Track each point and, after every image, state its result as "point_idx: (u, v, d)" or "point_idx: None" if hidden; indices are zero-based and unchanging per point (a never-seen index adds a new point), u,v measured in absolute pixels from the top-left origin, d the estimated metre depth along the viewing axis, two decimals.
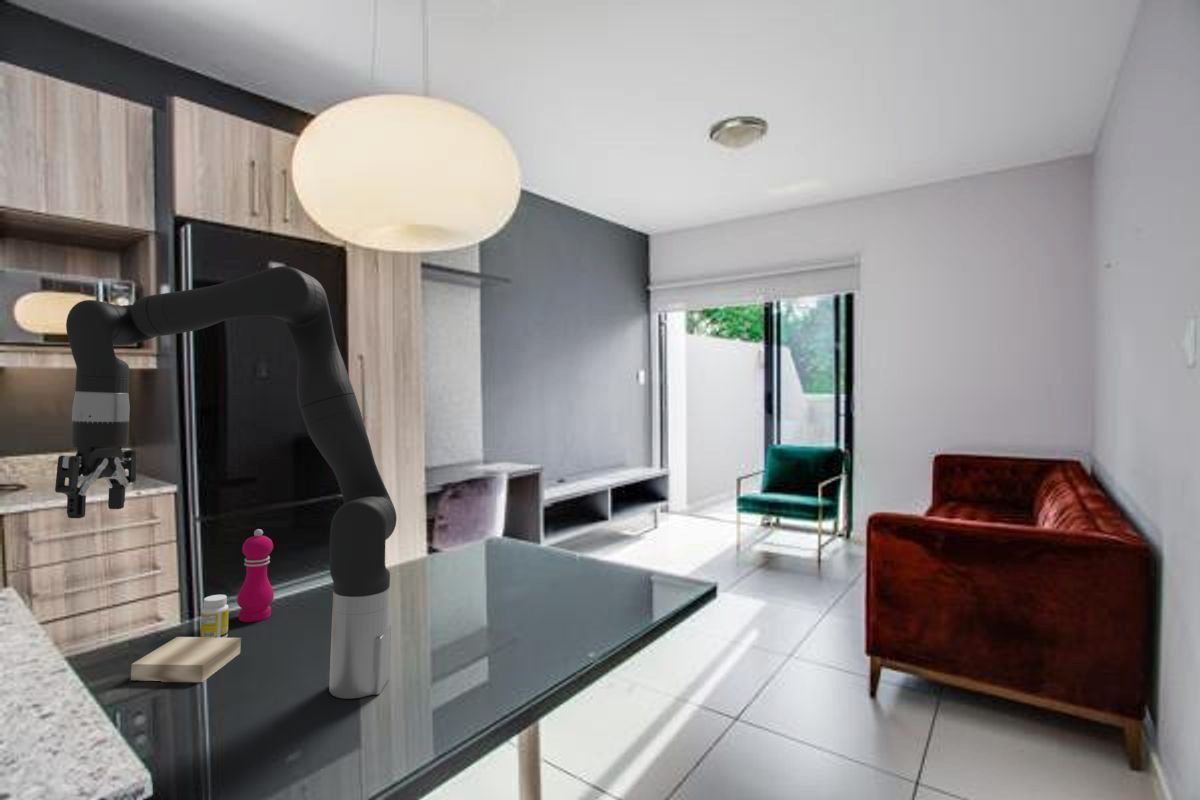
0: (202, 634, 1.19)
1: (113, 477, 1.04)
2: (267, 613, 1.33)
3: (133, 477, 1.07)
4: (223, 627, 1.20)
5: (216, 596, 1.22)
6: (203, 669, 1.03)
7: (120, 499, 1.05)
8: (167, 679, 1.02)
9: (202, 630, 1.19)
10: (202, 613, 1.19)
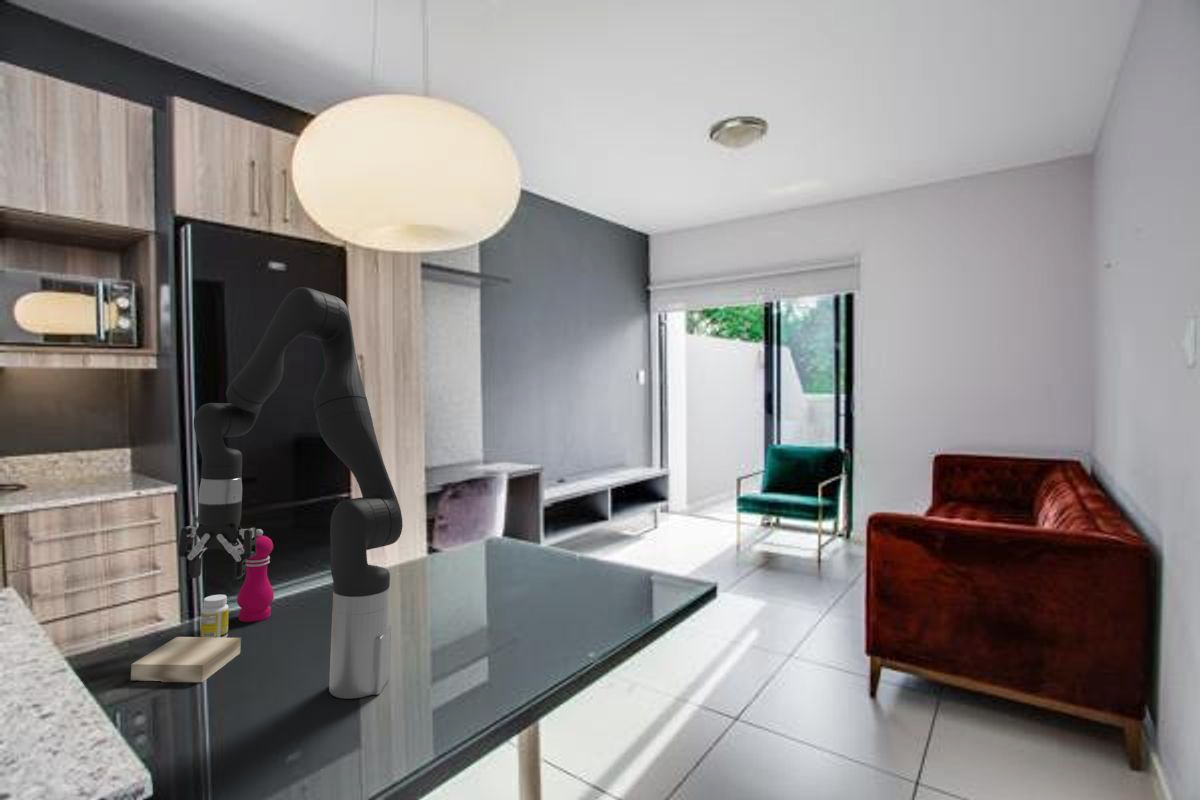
0: (202, 634, 1.19)
1: (204, 549, 1.21)
2: (267, 613, 1.33)
3: None
4: (223, 627, 1.20)
5: (216, 596, 1.22)
6: (203, 669, 1.03)
7: (200, 567, 1.22)
8: (167, 679, 1.02)
9: (202, 630, 1.19)
10: (202, 613, 1.19)
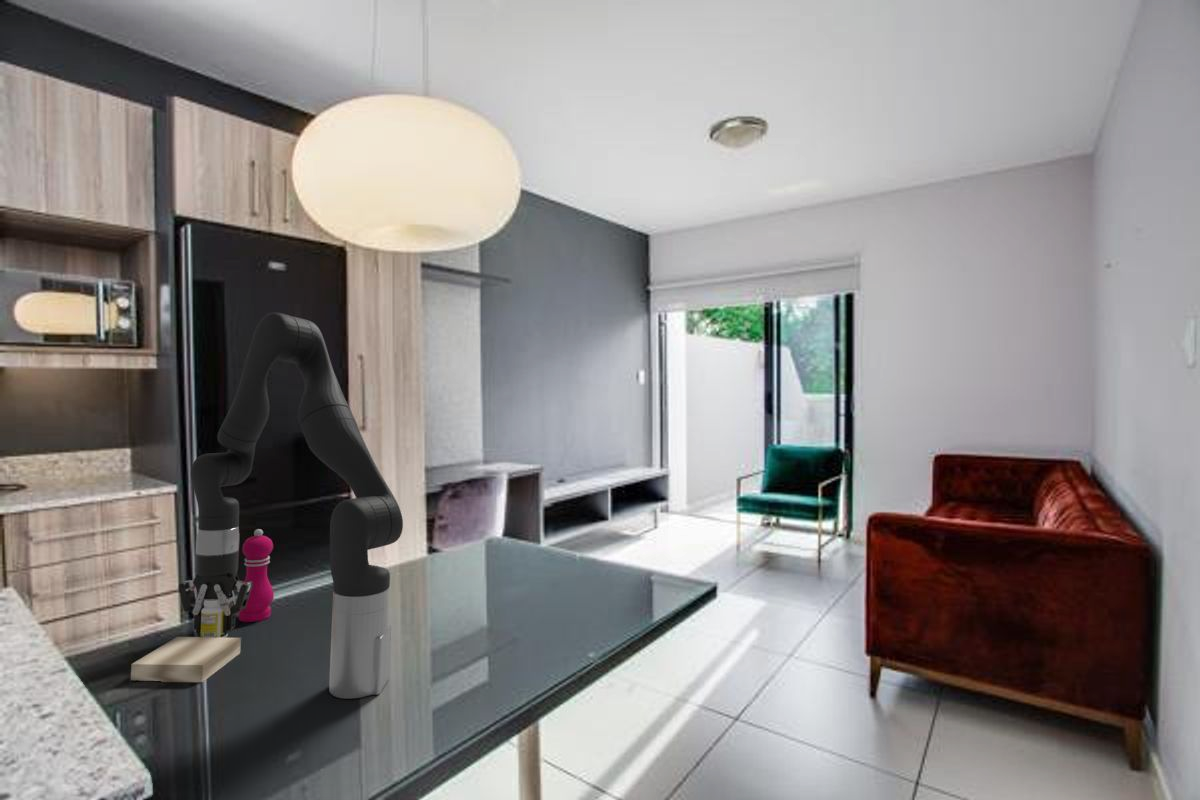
0: (202, 634, 1.19)
1: None
2: (267, 613, 1.33)
3: None
4: None
5: None
6: (203, 669, 1.03)
7: None
8: (167, 679, 1.02)
9: (202, 630, 1.19)
10: (202, 613, 1.19)
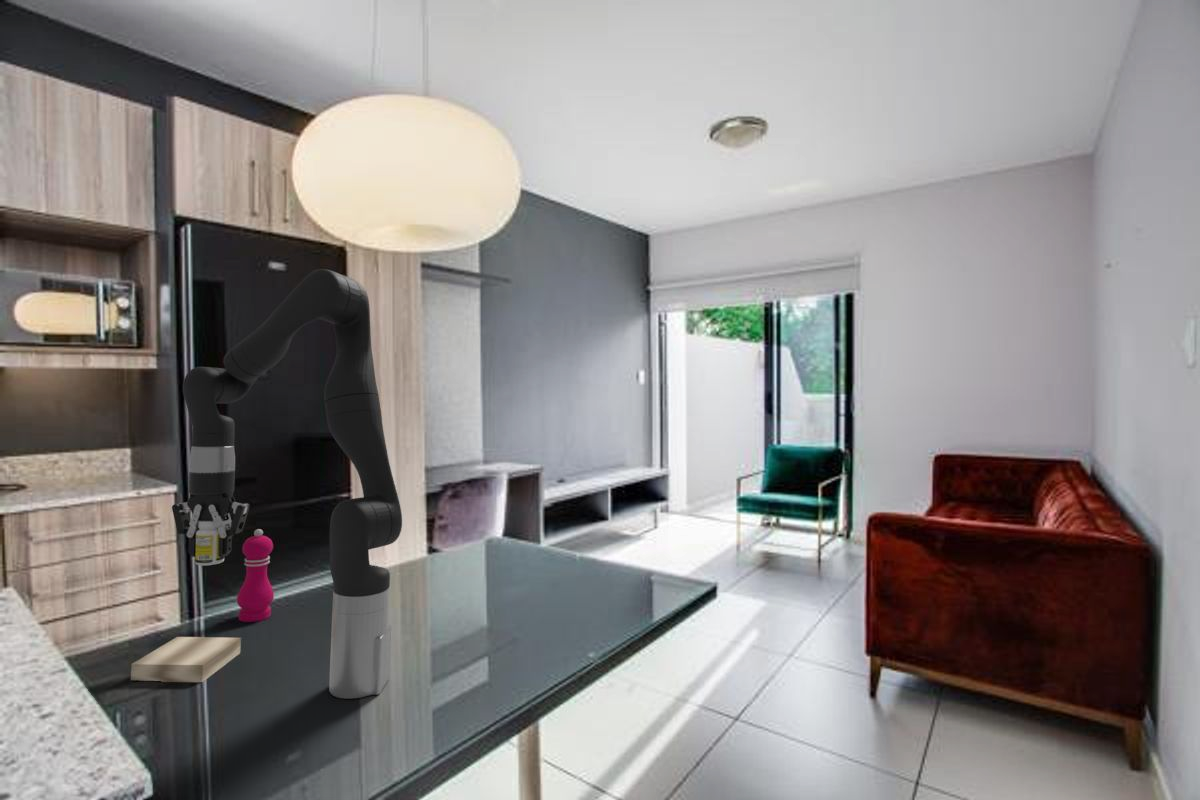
0: (197, 557, 1.13)
1: None
2: (267, 613, 1.33)
3: (188, 527, 1.16)
4: None
5: None
6: (203, 669, 1.03)
7: None
8: (167, 679, 1.02)
9: (197, 553, 1.13)
10: (197, 535, 1.13)
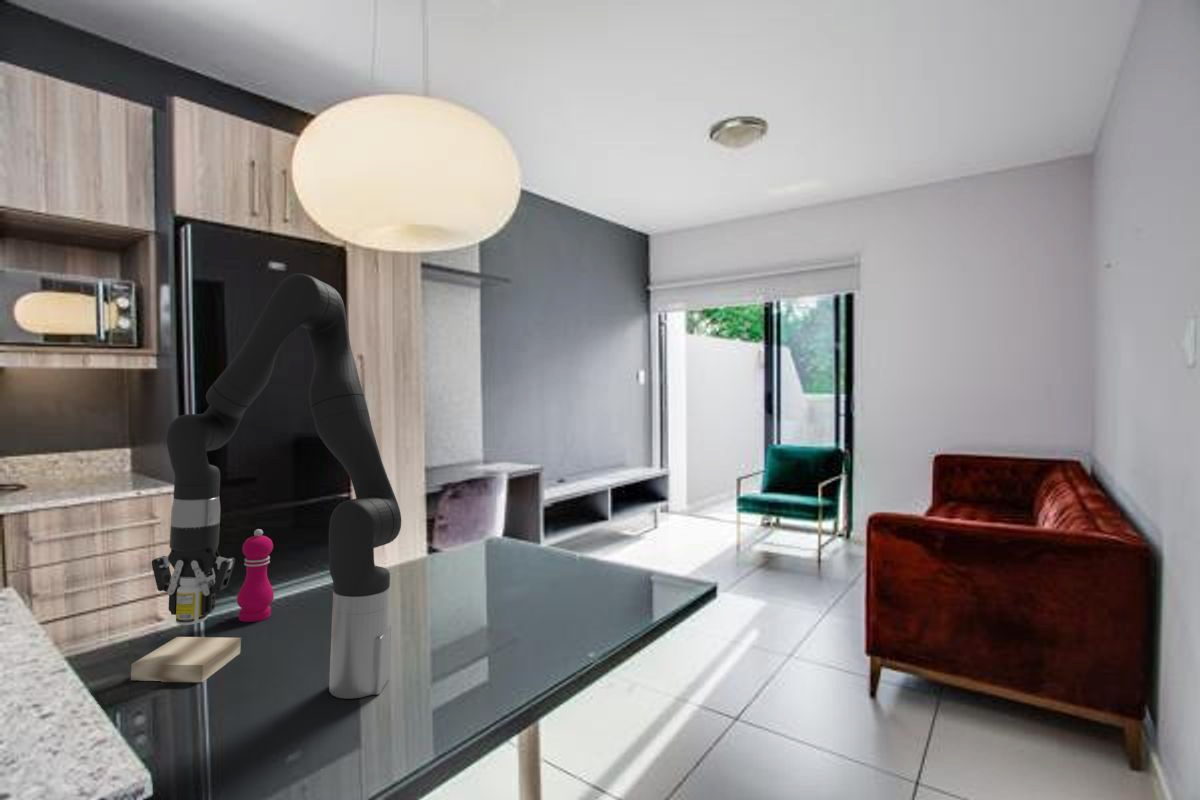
0: (178, 616, 1.06)
1: None
2: (267, 613, 1.33)
3: (169, 581, 1.09)
4: None
5: None
6: (203, 669, 1.03)
7: None
8: (167, 679, 1.02)
9: (178, 611, 1.06)
10: (178, 592, 1.07)
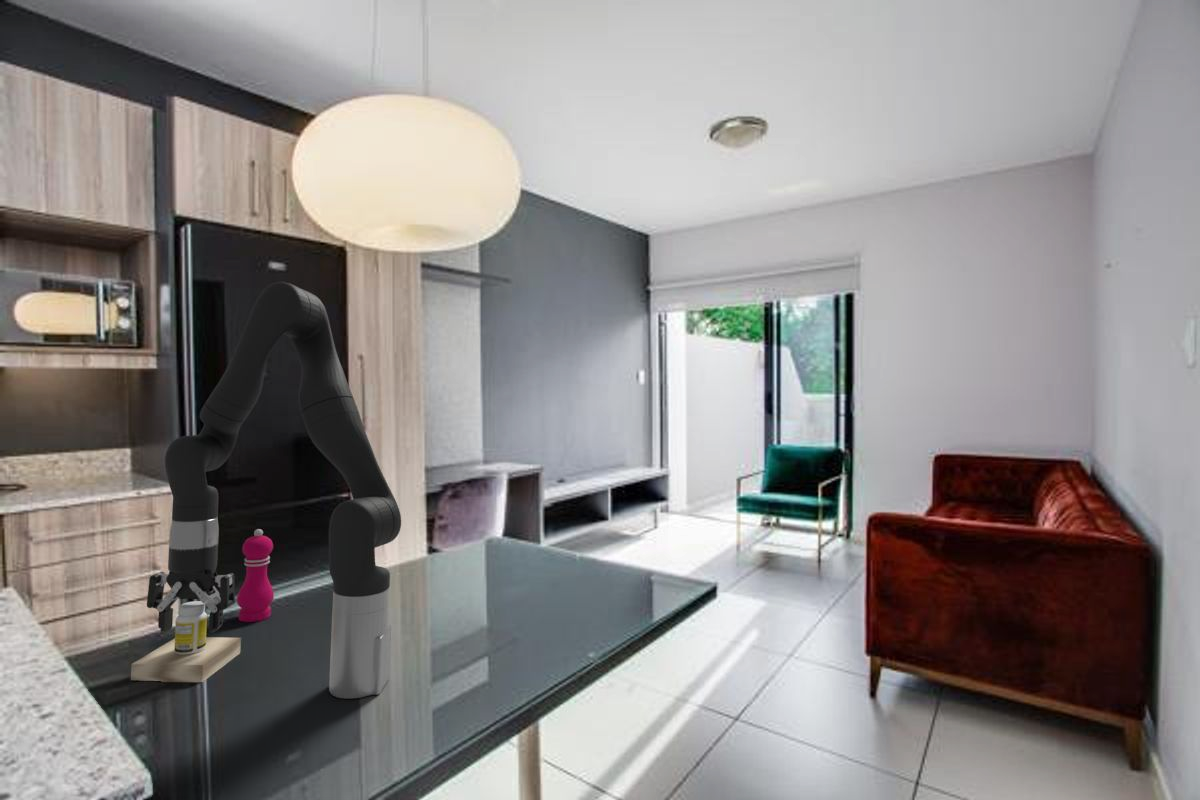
0: (176, 646, 1.06)
1: (175, 598, 1.08)
2: (267, 613, 1.33)
3: None
4: (200, 638, 1.08)
5: (193, 603, 1.09)
6: (203, 669, 1.03)
7: (171, 619, 1.09)
8: (167, 679, 1.02)
9: (176, 641, 1.06)
10: (176, 622, 1.06)
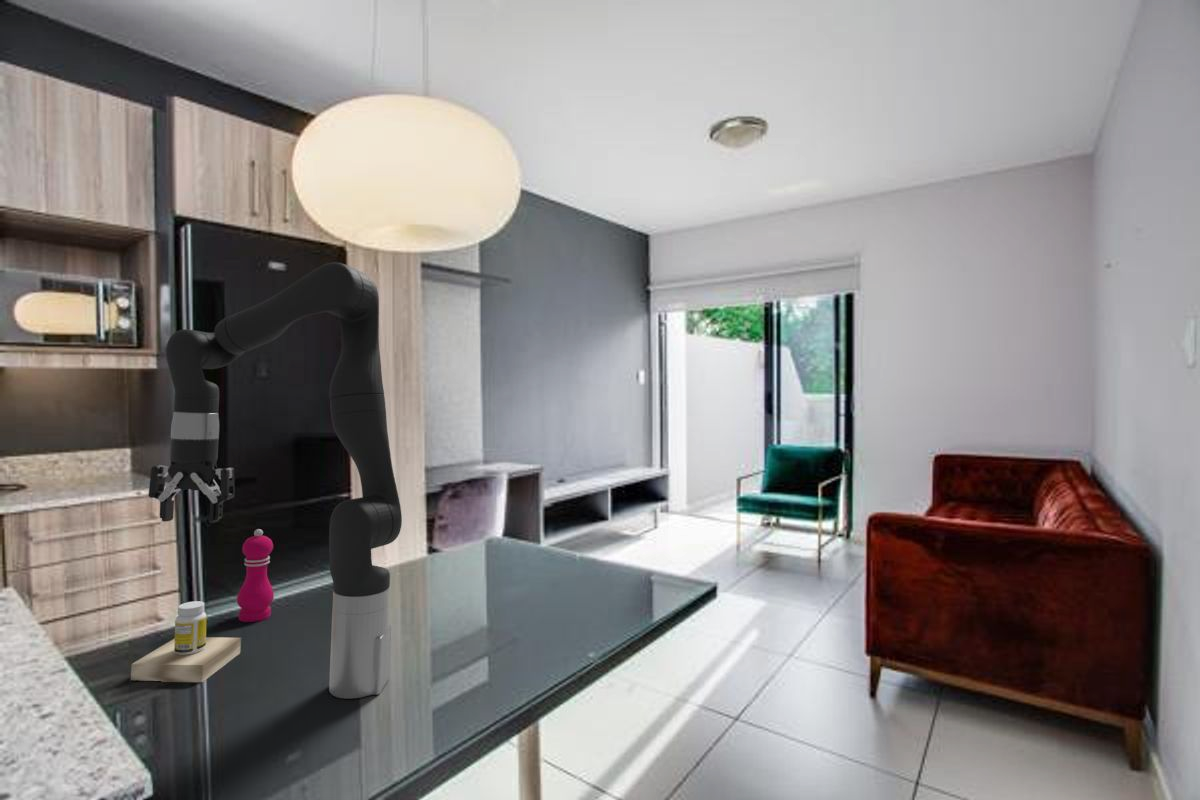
0: (176, 646, 1.06)
1: (177, 490, 1.11)
2: (267, 613, 1.33)
3: None
4: (200, 638, 1.08)
5: (192, 603, 1.09)
6: (203, 669, 1.03)
7: (172, 510, 1.12)
8: (167, 679, 1.02)
9: (176, 641, 1.06)
10: (176, 622, 1.06)
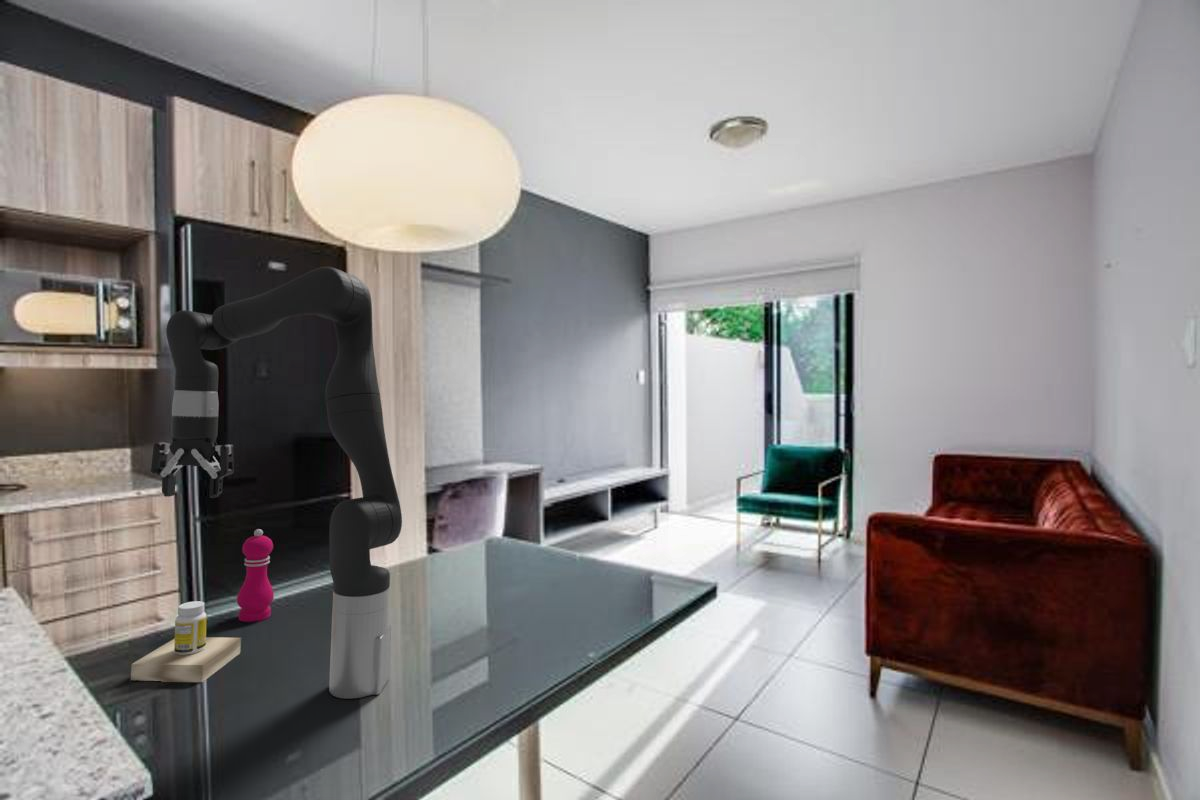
0: (176, 646, 1.06)
1: (178, 466, 1.15)
2: (267, 613, 1.33)
3: None
4: (200, 638, 1.08)
5: (192, 603, 1.09)
6: (203, 669, 1.03)
7: (174, 486, 1.16)
8: (167, 679, 1.02)
9: (176, 641, 1.06)
10: (176, 622, 1.06)
